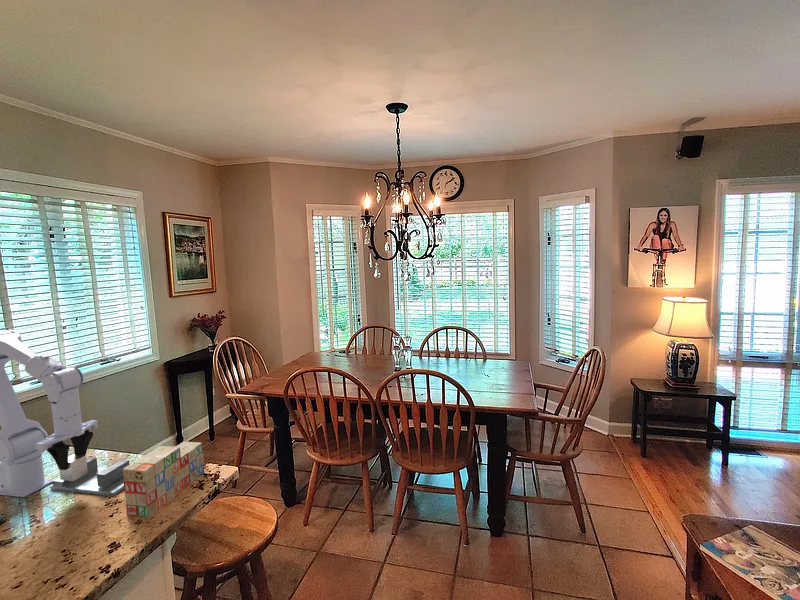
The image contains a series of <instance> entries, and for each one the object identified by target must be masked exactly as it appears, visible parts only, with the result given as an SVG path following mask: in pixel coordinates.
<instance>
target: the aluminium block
mask: <svg viewBox="0 0 800 600" xmlns="http://www.w3.org/2000/svg"><path fill="white" fill-rule="evenodd" d="M86 458H87V454H86V455H78V454H75V453H73V454H71V455H68V469H67V470H59V477H60V479H61V480H68V481H74V480H76V479H78V478H80V477H82V476H83V475H85V474H87V473H88V470H87V461H86Z"/></svg>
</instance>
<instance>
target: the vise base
mask: <svg viewBox="0 0 800 600" xmlns="http://www.w3.org/2000/svg"><path fill="white" fill-rule="evenodd" d="M86 461H87V470H88V473H87V474H85V475H83V476H82V477H80V478H78V479H76V480H74V481H68V480H61V479H60V476H59V477H56V478H55V479H52V480H53V481H52V485H50V486H49V488H50V490H51V491H59V490H60V491H61V492H69V491H74V492H73V493H78V492H79V494H80V493H81V494H89V495H99V496H106V497H114V496H117V495H118V494H119V493H120V492H122V491H124V477H121V478H120V479H118V480H116V481H115V482H113V483H112V484H110V485H108V486H107V487H99V486H98V483H97V474H98V473H99V472H101V471H103V470H105V469H106V468H107V467H102V466H98V457H94V456H93V457H92V456H89V457H86Z"/></svg>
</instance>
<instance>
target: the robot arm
mask: <svg viewBox="0 0 800 600" xmlns="http://www.w3.org/2000/svg"><path fill="white" fill-rule="evenodd" d="M22 340H23V339H22V336H21V334H20V333H18V332H17V331H16V330H14V329H6V330H2V331H1V330H0V427H1V429H0V496H1V495H2V496H9V497H10V496H11V497H19V498H25V497H27V496H30V495H32V494H33V493H35V492H37V491H38V490H40V489H42V488H44V487H46V486H47V485H50V484H51V483H52V481H53V480H54V479H50V478H49V479H48V478H45V471H44V463H43V455H42V454H43V453H45V452H48V453H49V455H50V456H51V457H52V458H53V460H54V462H55V464H56V466H57V468H58V470H59V471H60V470H67V469H68V456H69V450H70V447H71V445H70V444H65V441H67V440H69V439H70V441H71V443H72V447H73V451H74V454H78V455H86V456H87V451H88V447H89V445H90V443H91V440H92V438H93V437H94V432H93V431H90V430H91V429H97V428H98V427H99V425H98V420H95V419H91V420H88V421H85V422H83V420H82V408H81V401H80V399H81V398H80V391H79V390H80V389H79V388H80V387H82V385H83V384H84V375H83V373H82V371H81V369H79V368H78V367H77V366H74V365H73V366H69V365H67V366H65V365H63V364H62V363H60V362H58V361H57V360H55V359H54V358H52V357H50V355H48V354H44V353H43V354H38V353H36V352H35V351H33V350H32V349H31V348H29V347H28V346H27V345H26V344H25V343H23V341H22ZM12 360H13V361H16V363H19V364H22V365H23V366H24V371H25V372H26V373H27V374H28V375H29V376H31V377H33V378H34V379H36V380H38V381H39V382H41V384H42V388H43V390H44V392H45V393H46V395H47V399H48V401H49V402H50V405H51V406H50V407H51V413H52V414H51V415H52V416H51V417H52V423H53V425H52V426H53V432H54V433H52V434H50V435H48V432H47V431H46V430H45V429H44V428H43V427H42V425H41V423H40V422H39V421H35V420H31V419H27V417H26V415H25V412H24V410H23V408H22V405H21V403H20V401H19V398H18V397H17V393H16V392H15V389H14V387H13V385H12V383H11V380H10V378H9V376H8V373H7V371H6V369H5V367H6V364H7V363H9V362H11V361H12ZM52 484H53V483H52Z"/></svg>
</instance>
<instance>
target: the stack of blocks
mask: <svg viewBox="0 0 800 600" xmlns="http://www.w3.org/2000/svg"><path fill="white" fill-rule="evenodd" d="M203 451H204V450H203V442H199V441H198V442H197V441H182V442H181V443H179V444H177V445H176V446H166V445H165V446H164V445H159V446H157V447H155V448H154V449H152V450H151V451H149V452H148V453H146V454H145V455H144V456H141V457H140V458H138V459H136V460H135V461H134V462H132V463H129V465H128V466H127V467H125V468H124V469H123V477H124V489H123V491H124V497H125V508H126V516H130V517H131V516H132V517H141V518H147V519H148V518H150V517H151V516H152V515H154V514H155V513H156V512H158V511H159V510H161V508H163V507H164V506H165V505H167V504H168V503H169V502H171V501H172V500H173V499H174V498H176V496H178V495H179V494H180V493H181V492H182V491H183V490H185V489H186V488H187V487H188V486H190V484H192V483H193V482H195V481H196V480H197V479H198V478H199V477H201V476H202V475H203V474H204V473H205V459H204V452H203ZM201 474H202V475H201ZM200 475H201V476H200ZM198 476H199V477H198Z"/></svg>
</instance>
